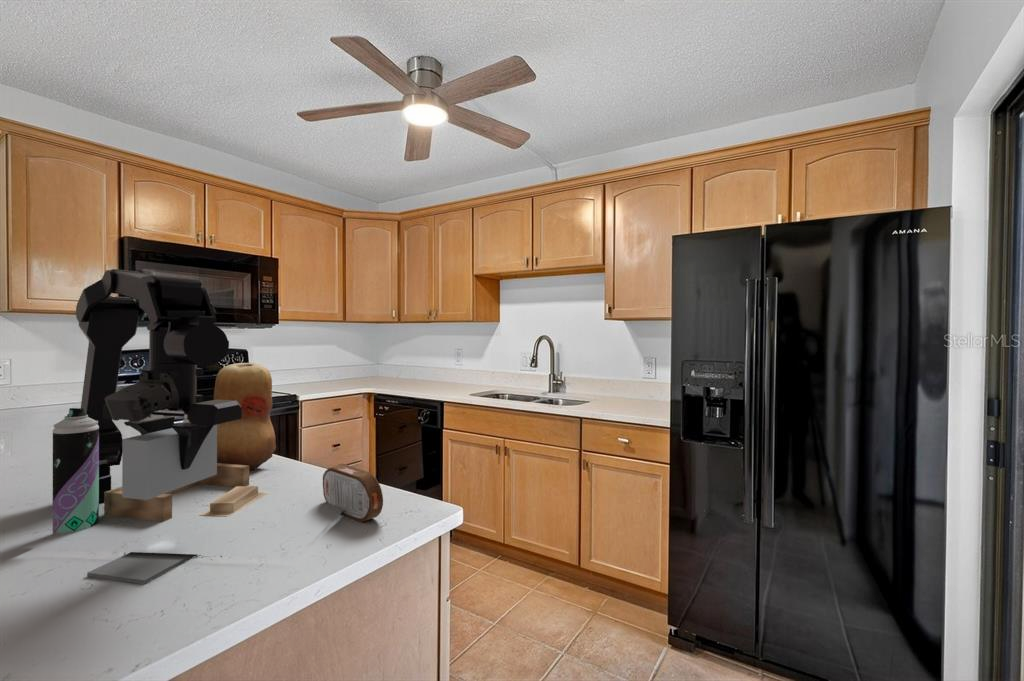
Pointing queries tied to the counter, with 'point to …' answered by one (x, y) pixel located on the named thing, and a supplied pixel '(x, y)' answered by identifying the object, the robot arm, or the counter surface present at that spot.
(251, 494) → the offcut upper
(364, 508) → the tin
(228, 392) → the butternut squash
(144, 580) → the mat
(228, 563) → the counter surface
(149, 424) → the robot arm
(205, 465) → the gray rectangular block
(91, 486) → the spray can
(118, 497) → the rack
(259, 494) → the offcut lower
